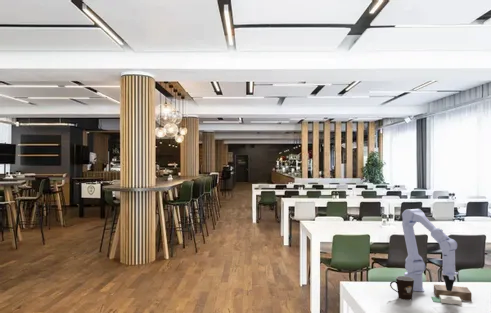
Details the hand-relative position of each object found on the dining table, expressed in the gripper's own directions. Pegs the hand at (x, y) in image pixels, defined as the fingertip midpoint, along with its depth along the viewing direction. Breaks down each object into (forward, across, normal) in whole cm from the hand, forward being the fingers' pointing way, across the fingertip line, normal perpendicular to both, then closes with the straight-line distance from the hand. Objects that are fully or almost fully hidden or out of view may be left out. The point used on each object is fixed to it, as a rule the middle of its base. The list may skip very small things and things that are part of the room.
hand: (449, 290), depth 196 cm
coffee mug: (+5, -4, +22) cm, 23 cm away
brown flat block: (+5, +8, -2) cm, 9 cm away
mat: (+5, -2, +2) cm, 6 cm away
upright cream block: (+3, -4, 0) cm, 4 cm away
